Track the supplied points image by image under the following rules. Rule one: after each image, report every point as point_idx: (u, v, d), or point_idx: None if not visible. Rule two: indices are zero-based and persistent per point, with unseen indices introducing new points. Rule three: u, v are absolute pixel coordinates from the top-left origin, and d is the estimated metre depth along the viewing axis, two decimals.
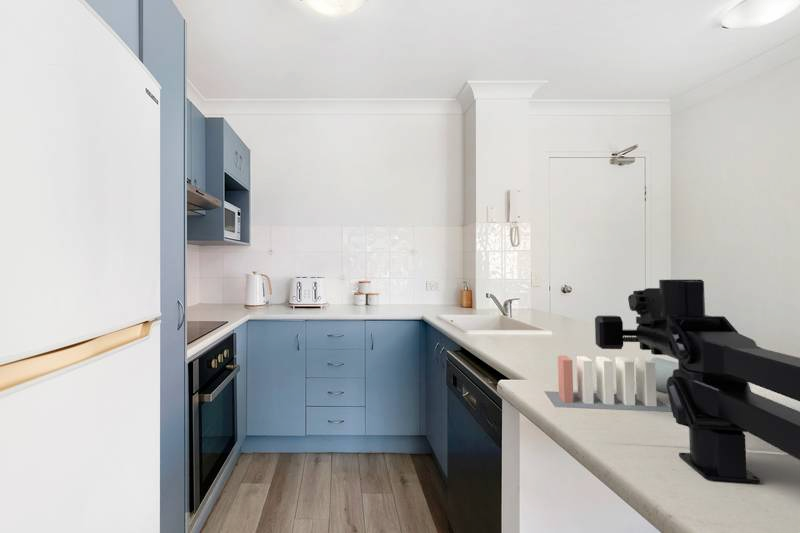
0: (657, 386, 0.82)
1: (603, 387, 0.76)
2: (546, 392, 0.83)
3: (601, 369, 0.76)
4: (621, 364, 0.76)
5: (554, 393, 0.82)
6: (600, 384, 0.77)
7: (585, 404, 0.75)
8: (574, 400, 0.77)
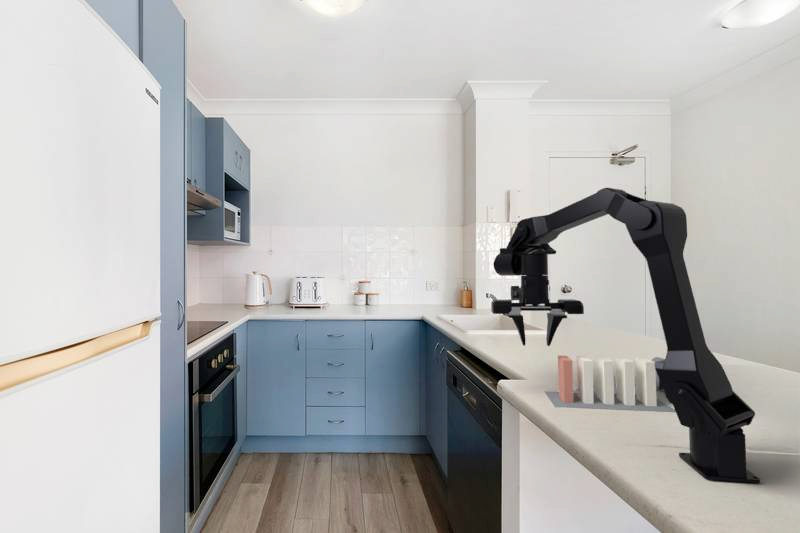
0: (658, 386, 0.82)
1: (603, 387, 0.76)
2: (546, 392, 0.83)
3: (601, 369, 0.76)
4: (621, 364, 0.76)
5: (554, 393, 0.82)
6: (600, 384, 0.77)
7: (585, 404, 0.75)
8: (574, 400, 0.77)
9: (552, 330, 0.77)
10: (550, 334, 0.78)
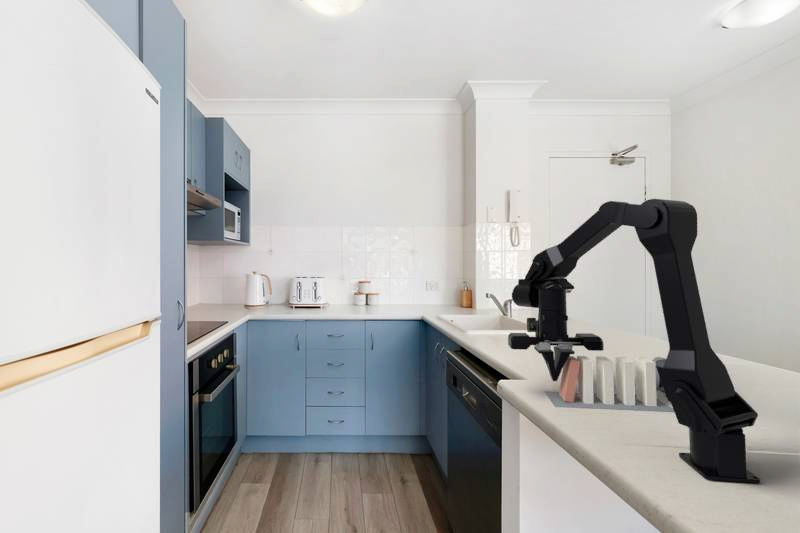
0: None
1: (603, 387, 0.76)
2: (546, 392, 0.83)
3: (601, 369, 0.76)
4: (621, 364, 0.76)
5: (554, 393, 0.82)
6: (600, 384, 0.77)
7: (585, 404, 0.75)
8: (574, 400, 0.77)
9: (559, 366, 0.77)
10: (557, 369, 0.77)
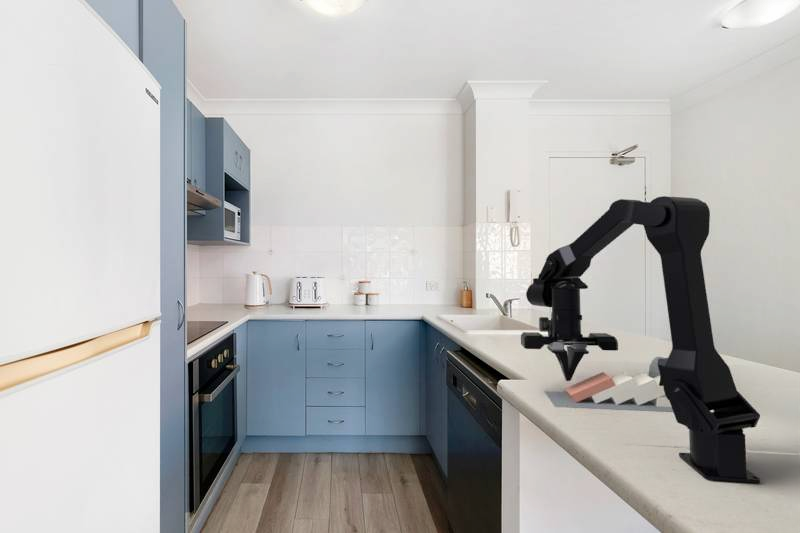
0: None
1: None
2: (546, 392, 0.83)
3: (640, 381, 0.75)
4: None
5: (554, 393, 0.82)
6: None
7: (585, 404, 0.75)
8: None
9: (573, 366, 0.76)
10: (571, 369, 0.77)
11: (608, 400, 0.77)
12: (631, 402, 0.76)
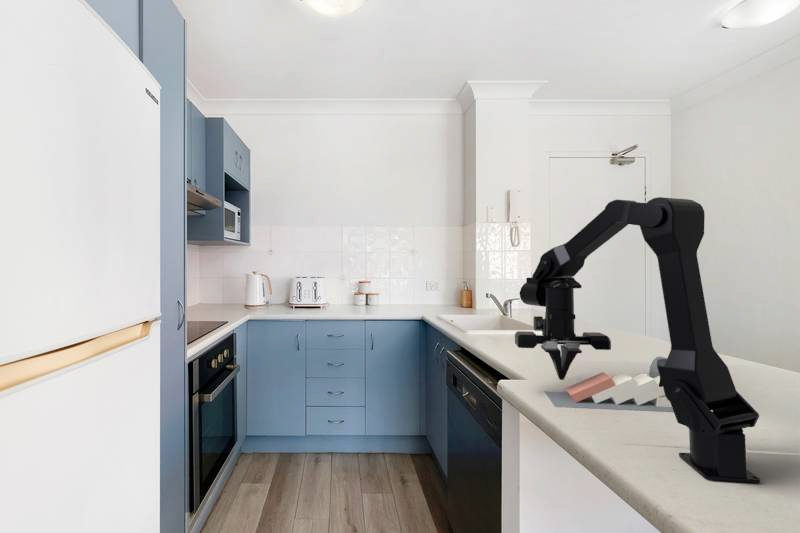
0: None
1: None
2: (546, 392, 0.83)
3: (640, 381, 0.75)
4: None
5: (554, 393, 0.82)
6: None
7: (585, 404, 0.75)
8: None
9: (566, 365, 0.77)
10: (564, 368, 0.77)
11: (608, 400, 0.77)
12: (631, 402, 0.76)
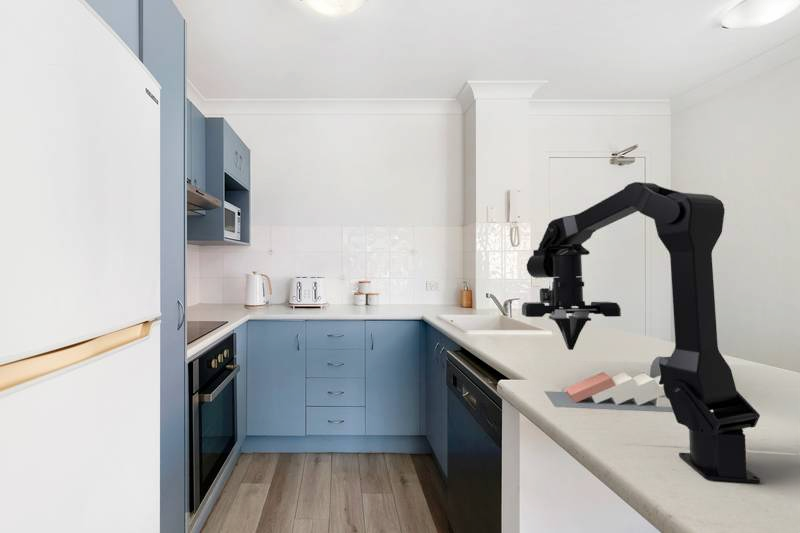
0: None
1: None
2: (546, 392, 0.83)
3: (640, 381, 0.75)
4: None
5: (554, 393, 0.82)
6: None
7: (585, 404, 0.75)
8: None
9: (576, 334, 0.75)
10: (573, 337, 0.76)
11: (608, 400, 0.77)
12: (631, 402, 0.76)
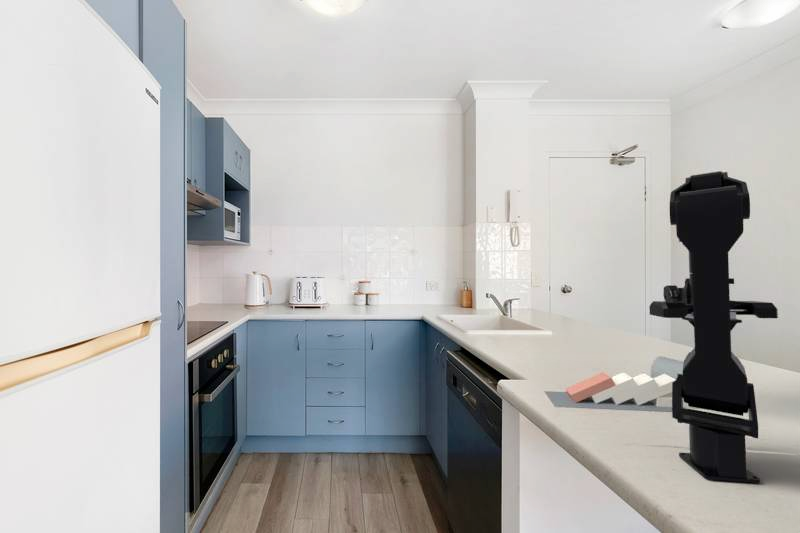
0: None
1: None
2: (546, 392, 0.83)
3: (640, 381, 0.75)
4: (667, 379, 0.74)
5: (554, 393, 0.82)
6: None
7: (585, 404, 0.75)
8: None
9: None
10: None
11: (608, 400, 0.77)
12: (631, 402, 0.76)
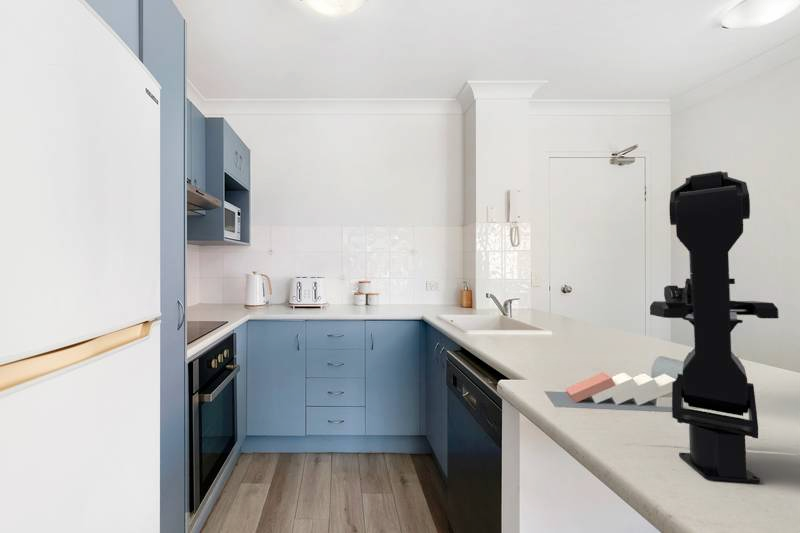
0: None
1: None
2: (546, 392, 0.83)
3: (640, 381, 0.75)
4: (667, 379, 0.74)
5: (554, 393, 0.82)
6: None
7: (585, 404, 0.75)
8: None
9: None
10: None
11: (608, 400, 0.77)
12: (631, 402, 0.76)
